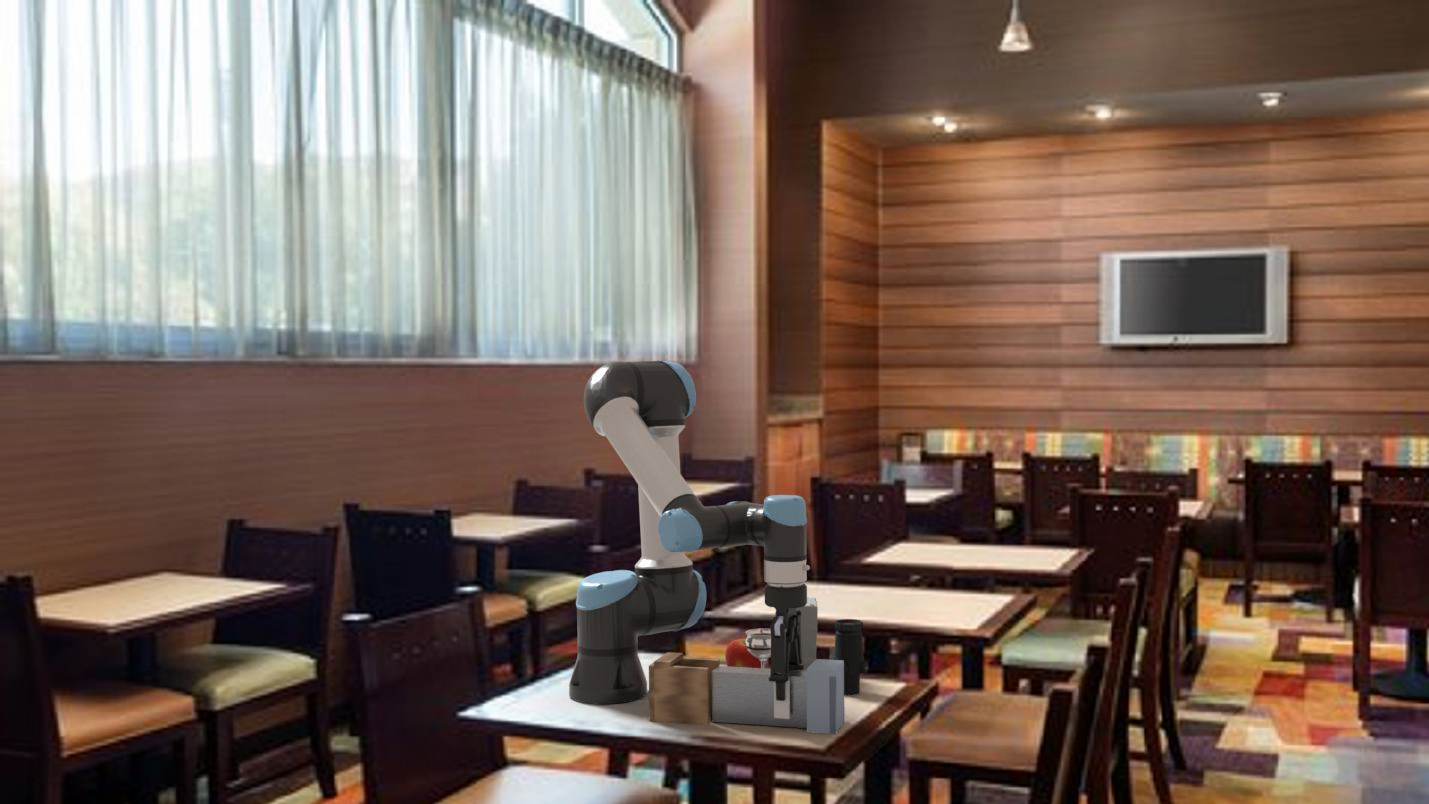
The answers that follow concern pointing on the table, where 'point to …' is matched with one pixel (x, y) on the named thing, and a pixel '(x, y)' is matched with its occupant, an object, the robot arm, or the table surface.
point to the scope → (850, 653)
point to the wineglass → (759, 644)
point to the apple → (740, 655)
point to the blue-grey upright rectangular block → (825, 696)
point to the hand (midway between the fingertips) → (786, 712)
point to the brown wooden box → (681, 689)
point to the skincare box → (808, 632)
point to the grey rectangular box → (755, 697)
